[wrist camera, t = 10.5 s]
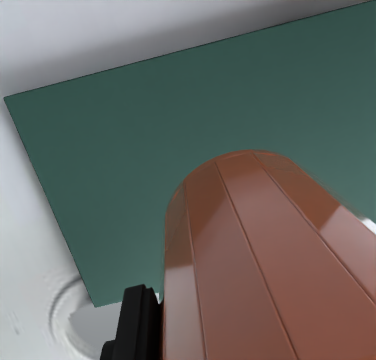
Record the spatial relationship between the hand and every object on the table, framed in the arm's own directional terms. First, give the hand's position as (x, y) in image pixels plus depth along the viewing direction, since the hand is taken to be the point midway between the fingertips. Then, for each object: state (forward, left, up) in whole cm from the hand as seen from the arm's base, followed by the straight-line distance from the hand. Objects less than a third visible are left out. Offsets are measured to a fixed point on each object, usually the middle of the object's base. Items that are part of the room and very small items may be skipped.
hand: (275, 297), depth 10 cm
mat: (0, 0, -11) cm, 11 cm away
